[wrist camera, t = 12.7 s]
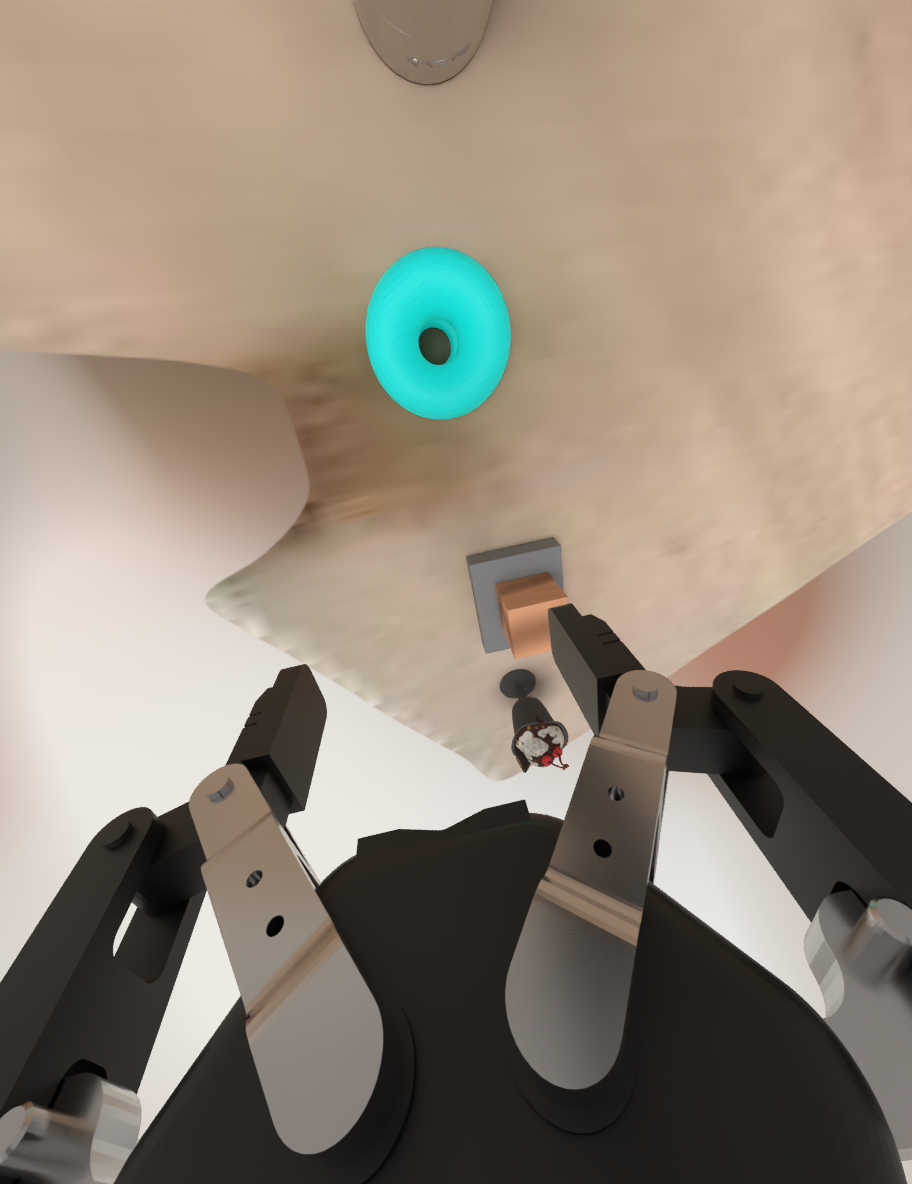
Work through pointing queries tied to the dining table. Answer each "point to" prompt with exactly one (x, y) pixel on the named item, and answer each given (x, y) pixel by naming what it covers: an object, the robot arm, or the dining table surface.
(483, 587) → the base
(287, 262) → the dining table surface
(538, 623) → the cube
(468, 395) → the donuts
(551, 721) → the sundae
